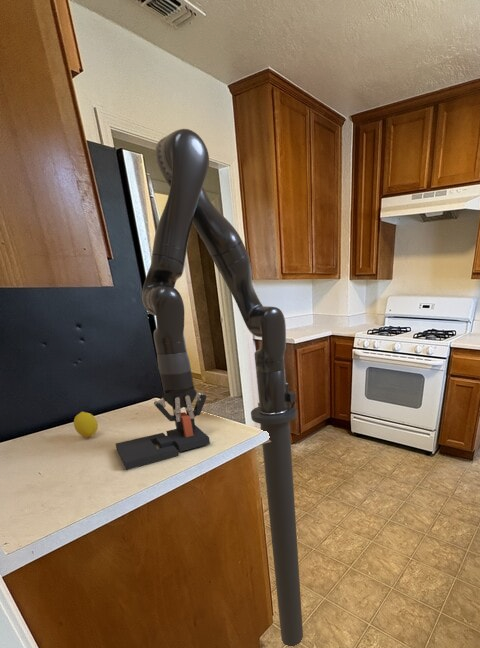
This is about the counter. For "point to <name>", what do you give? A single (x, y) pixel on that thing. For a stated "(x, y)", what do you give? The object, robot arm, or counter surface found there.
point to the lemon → (85, 424)
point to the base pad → (143, 451)
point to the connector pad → (184, 436)
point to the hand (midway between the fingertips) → (186, 431)
